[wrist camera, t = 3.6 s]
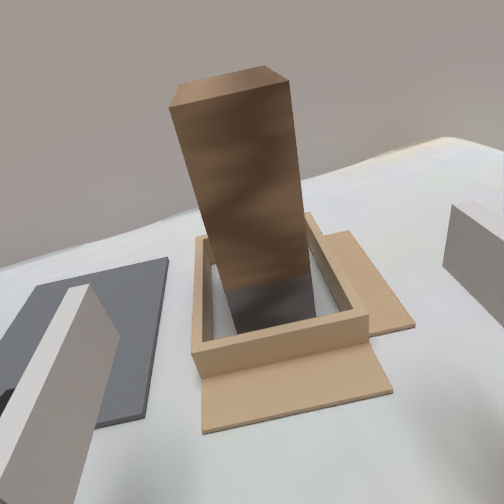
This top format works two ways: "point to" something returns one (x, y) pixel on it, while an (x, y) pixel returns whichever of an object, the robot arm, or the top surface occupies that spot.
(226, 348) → the carton
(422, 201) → the top surface
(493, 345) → the top surface
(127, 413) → the mat
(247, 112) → the walnut box
